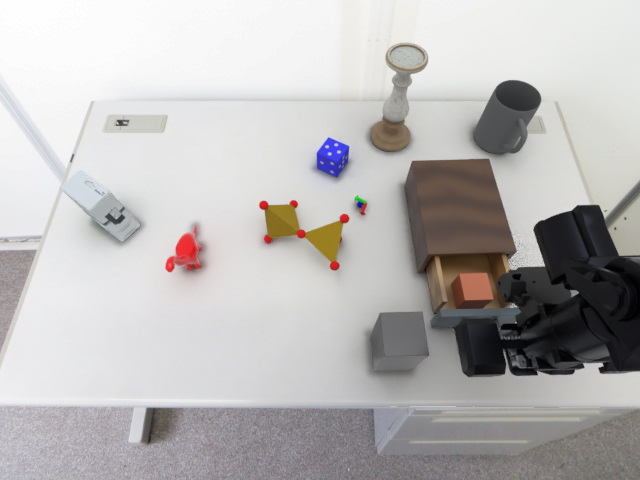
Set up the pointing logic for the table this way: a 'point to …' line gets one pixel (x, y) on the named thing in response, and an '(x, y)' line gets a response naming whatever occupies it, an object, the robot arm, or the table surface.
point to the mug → (507, 117)
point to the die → (332, 157)
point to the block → (472, 290)
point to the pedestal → (398, 341)
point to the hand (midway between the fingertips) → (510, 359)
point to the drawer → (442, 298)
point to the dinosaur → (185, 253)
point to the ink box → (100, 205)
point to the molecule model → (286, 224)
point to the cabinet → (456, 210)
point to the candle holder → (398, 96)
